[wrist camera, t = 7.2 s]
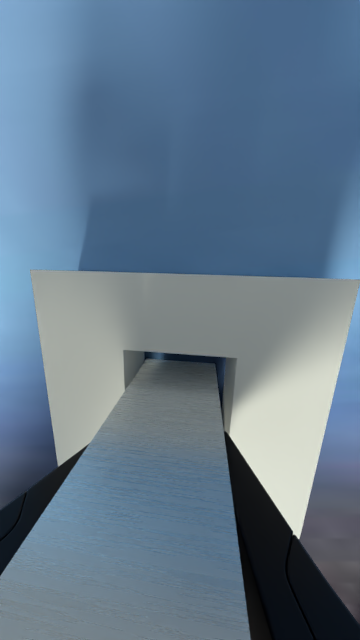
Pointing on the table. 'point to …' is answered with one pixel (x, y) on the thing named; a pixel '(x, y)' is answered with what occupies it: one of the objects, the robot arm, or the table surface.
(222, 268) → the table surface
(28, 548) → the keyed peg
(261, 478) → the hub block
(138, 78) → the table surface
